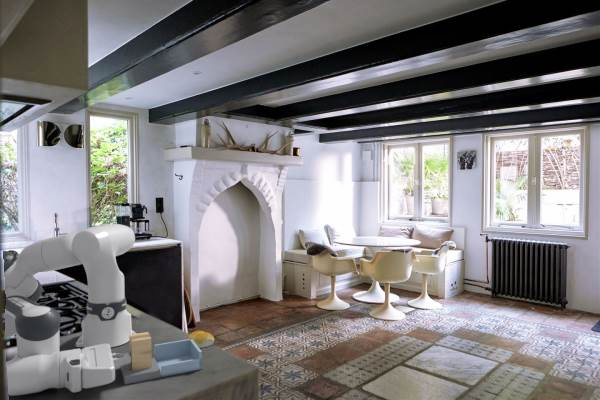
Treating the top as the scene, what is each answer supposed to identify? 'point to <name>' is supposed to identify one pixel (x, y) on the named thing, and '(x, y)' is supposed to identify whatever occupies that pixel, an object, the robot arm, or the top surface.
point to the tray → (178, 357)
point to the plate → (140, 373)
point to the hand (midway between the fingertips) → (130, 357)
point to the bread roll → (202, 338)
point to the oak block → (140, 351)
